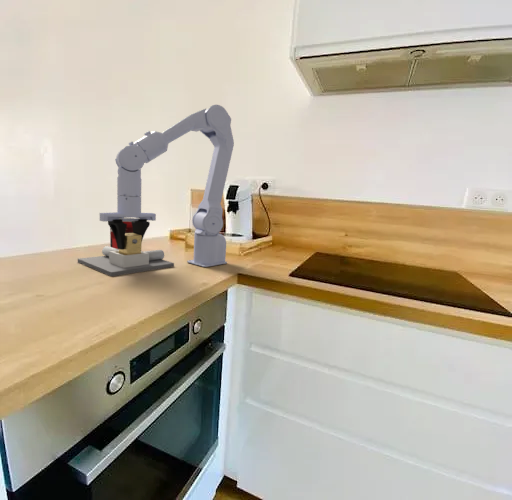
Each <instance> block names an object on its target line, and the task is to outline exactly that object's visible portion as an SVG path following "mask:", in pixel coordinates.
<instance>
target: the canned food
mask: <svg viewBox="0 0 512 500" xmlns="http://www.w3.org/2000/svg"><path fill="white" fill-rule="evenodd" d="M119 219H122V218H119ZM123 219H134V217H124V218H123ZM122 222H124V223H125V224H127V227H126V231H125V233H133V227H132V221H122ZM109 230H110V231H109V234H110V235H109V239H110V244H109V245H110V246H109V247H112V248H116V249H118V247H117V243H116V239H115V237H114V234H113V232H112V230H111V228H110V227H109Z"/></svg>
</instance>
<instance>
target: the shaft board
mask: <svg viewBox="0 0 512 500" xmlns="http://www.w3.org/2000/svg"><path fill="white" fill-rule="evenodd" d="M101 253H102V256H101V255H100V256H91V257H90V256H89V257H82V258H81V257H80V258H77V263H79V264H81V265H83V266H86V267H88V268H90V269H93V270H95V271H97V272H100V273H101V274H105V275H106V276H107V275H108V276H109V277H115V276H116V277H117V276H123V275H129V274H134V273H135V274H136V273H141V272H149V271H154V270H161V269H166V268H167V269H168V268H174V267H175V263H174V262H172V261H168V260H164V258H165V252H164V250H163V249H154V250H145V251H142V250H141V254H132V255H123V254H119V249H116V248H112V247H110V246H109V245H106V246H103V248H102V249H101Z"/></svg>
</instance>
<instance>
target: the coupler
mask: <svg viewBox="0 0 512 500" xmlns="http://www.w3.org/2000/svg"><path fill="white" fill-rule="evenodd" d="M142 242H143V239H142V235H139V234H136V233H125V246H124V249H123V250H121V249H119V254H123V255H132V254H141V251H142V244H143V243H142Z"/></svg>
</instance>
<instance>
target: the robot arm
mask: <svg viewBox="0 0 512 500" xmlns="http://www.w3.org/2000/svg"><path fill="white" fill-rule="evenodd" d="M231 123H232V118H231V116H230V115H229V113H228V111H227V110H226V109H225V107H224V106H222V105H220V104H213V105H211V106H209V108H203V109H201V110H199V111H196V112H193V113H191V114H189V115H188V116H185V118H183V119H181V120H180V121H178V122H177V123H174V125H171V127H168V128H166V129H165V130H164V131H162V132H159V131H157V130H153V131H151V130H148V131H146V132H145V133H144V134H143V135H144V136H143V137H141V138H139V139H138V140H136V141H130V142H128V145H126V146H125V147H124V148H123V149H120V150H119V151H118V153H117V154H116V158H115V160H114V161H115V164H116V165H117V179H116V180H117V181H116V183H117V185H116V186H117V187H116V188H117V193H116V194H117V197H116V199H117V204H116V205H117V207H116V209H117V210H116V212H99V221H100V222H107V224H108V226H109V229H110V228H111V230H112V232H113V234H114V237H115V239H116V243H117V247H118V249H121V250H123V249H124V246H125V231H126V227H127V224H125V223H124V222H122V221H132V227H133V233H136V234H139V235H142V240H143V239H144V237H145V234H146V233H147V230H148V228H149V227H150V221H156V220H157V219H156V218H157V217H156V216H157V215H156V214H157V213H153V212H142V171H141V170H142V168H143V166H144V165H145V164H148V163H150V162H152V161H153V160H155V159H156V158H158V157H160V156H161V155H162V154H164V153H166V152H167V151H168V147H169V144H170V143H172V142H173V141H174V142H175V141H176V140H178V139H179V138H181V137H182V136H184V135H186V134H188V133H189V132H191V131H192V132H196V133H197V132H200V133H202V134H203V135H204V136H205V137H206V138H208V139H209V141H210V142H211V144H212V145H213V151H212V152H213V153H212V155H211V156H212V157H211V160H210V165H209V170H208V175H207V179H206V183H205V187H204V193H203V197H202V200H201V202H200V203H199V204H198V205H197V210H196V212H195V213H194V214H193V215H192V220H191V222H192V225H193V227H194V228H195V231H194V235H193V237H194V238H193V259H189V260H187V261H186V262H187V263H189V264H192V265H196V266H200V267H203V268H207V267H208V268H209V267H214V266H218V265H225V264H227V263H228V261H226V256H227V254H226V253H227V241H226V237H225V236H224V235H223V234H222V233H220V232H221V231H222V229H223V227H224V220H223V213H224V212H223V207H222V198H223V194H224V191H225V190H224V189H225V187H226V186H225V185H226V181H227V177H228V173H229V168H230V163H231V159H232V155H233V150H234V145H235V144H234V143H235V142H234V137H233V136H234V135H233V132H232V131H233V130H232V126H231V125H232V124H231ZM124 217H126V218H134V219H123V218H124ZM119 218H122V219H119Z"/></svg>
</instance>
